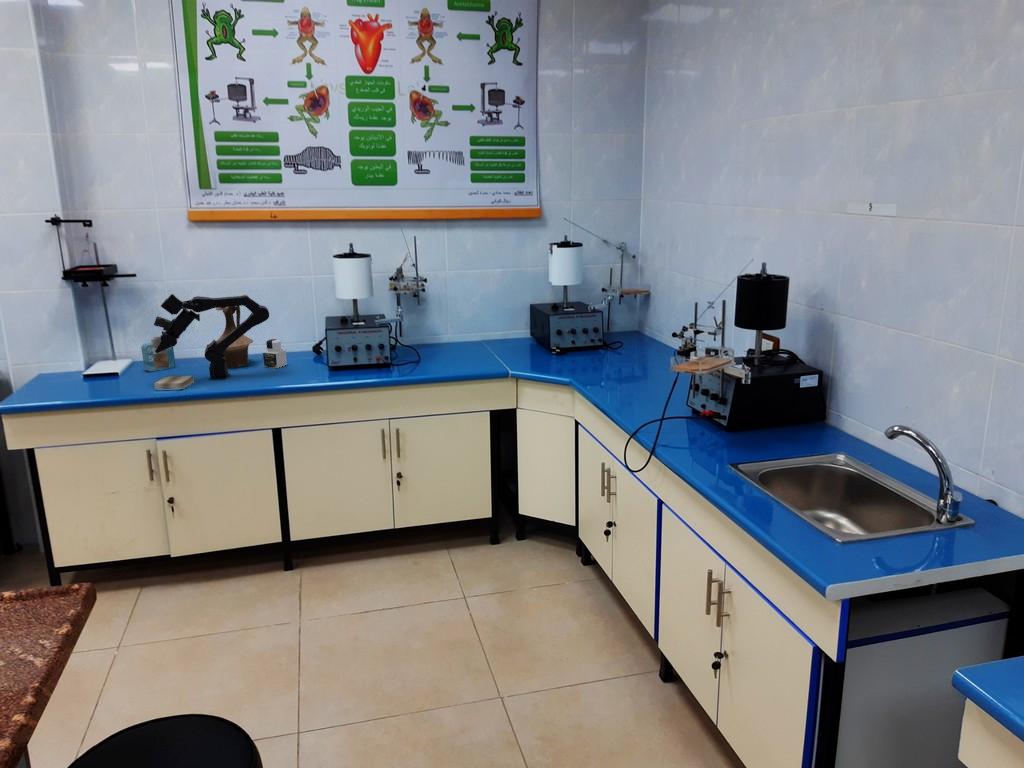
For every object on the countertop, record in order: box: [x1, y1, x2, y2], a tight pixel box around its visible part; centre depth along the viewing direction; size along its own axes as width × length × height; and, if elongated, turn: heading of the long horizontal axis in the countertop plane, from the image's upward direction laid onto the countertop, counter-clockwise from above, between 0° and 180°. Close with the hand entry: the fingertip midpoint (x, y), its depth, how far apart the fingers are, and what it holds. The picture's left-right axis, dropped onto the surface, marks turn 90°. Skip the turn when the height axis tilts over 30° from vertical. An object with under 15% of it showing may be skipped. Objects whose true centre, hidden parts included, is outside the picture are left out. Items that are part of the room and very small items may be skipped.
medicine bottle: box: [262, 338, 288, 369], centre depth 339 cm, size 7×7×12 cm
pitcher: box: [215, 306, 254, 369], centre depth 340 cm, size 18×17×28 cm
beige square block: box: [153, 375, 195, 391], centre depth 310 cm, size 11×11×3 cm
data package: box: [140, 342, 176, 373], centre depth 336 cm, size 12×4×12 cm, turn 135°
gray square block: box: [150, 335, 169, 368], centre depth 313 cm, size 5×5×12 cm
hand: (156, 351), depth 312 cm, fingers closed on gray square block, 5 cm apart
